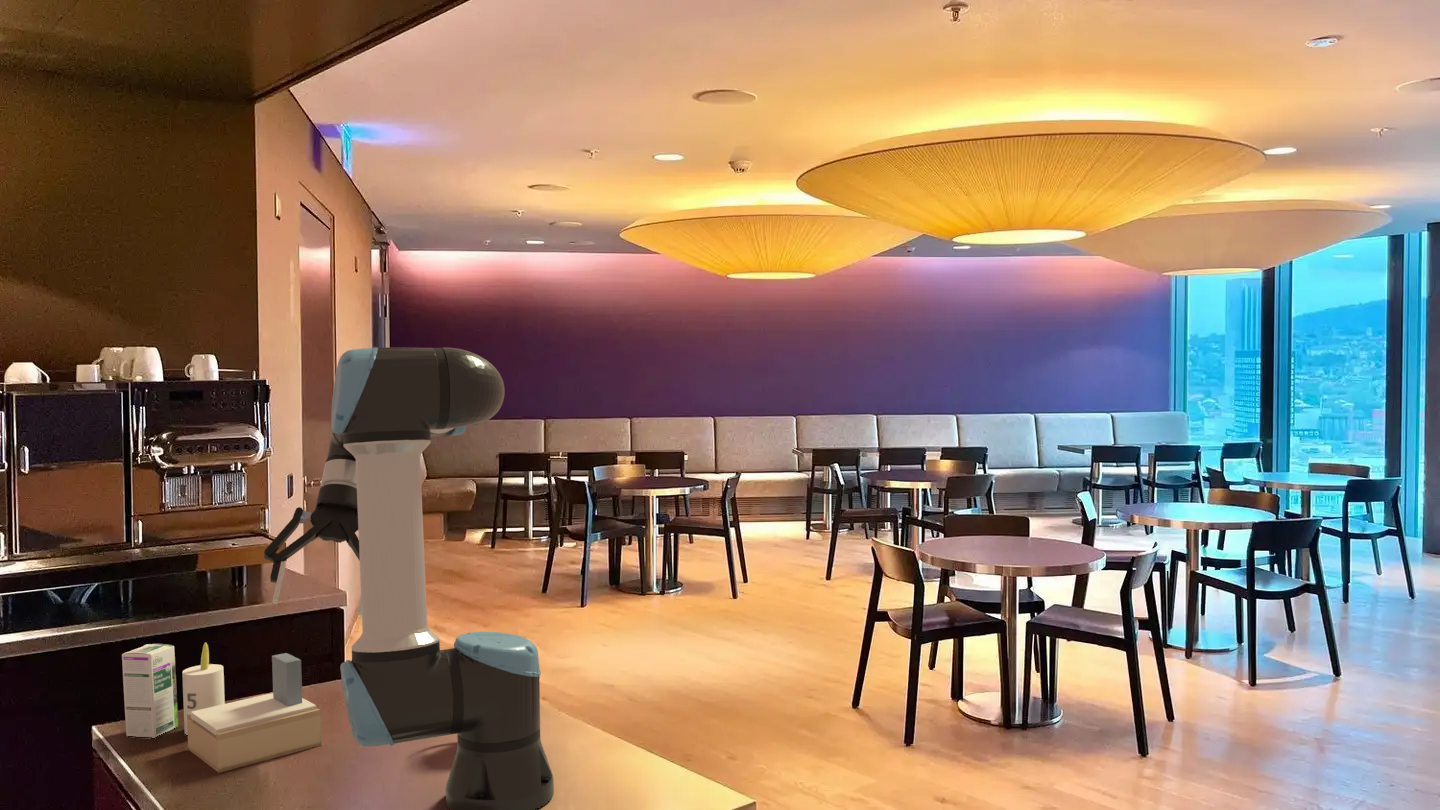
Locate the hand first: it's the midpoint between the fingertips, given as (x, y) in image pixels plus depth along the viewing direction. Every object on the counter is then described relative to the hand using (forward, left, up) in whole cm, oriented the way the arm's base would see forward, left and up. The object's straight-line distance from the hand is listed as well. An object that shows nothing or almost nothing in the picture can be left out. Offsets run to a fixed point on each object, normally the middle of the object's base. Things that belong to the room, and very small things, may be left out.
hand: (317, 607), depth 177 cm
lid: (0, +10, -16) cm, 19 cm away
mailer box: (0, +10, -22) cm, 24 cm away
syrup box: (+18, +23, -22) cm, 37 cm away
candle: (+14, +16, -22) cm, 30 cm away
